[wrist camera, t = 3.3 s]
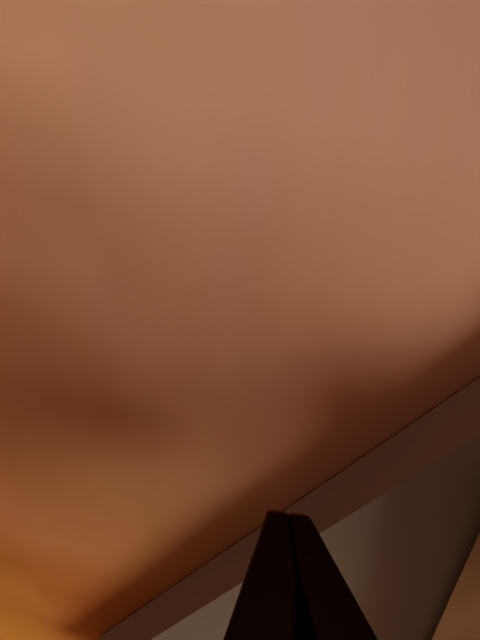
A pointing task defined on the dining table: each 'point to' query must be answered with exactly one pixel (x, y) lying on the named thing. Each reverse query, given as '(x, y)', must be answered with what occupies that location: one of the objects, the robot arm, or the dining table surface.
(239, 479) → the dining table surface
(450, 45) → the dining table surface
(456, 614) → the birch latch bar
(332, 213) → the dining table surface
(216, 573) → the keeper baseplate
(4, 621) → the dining table surface
